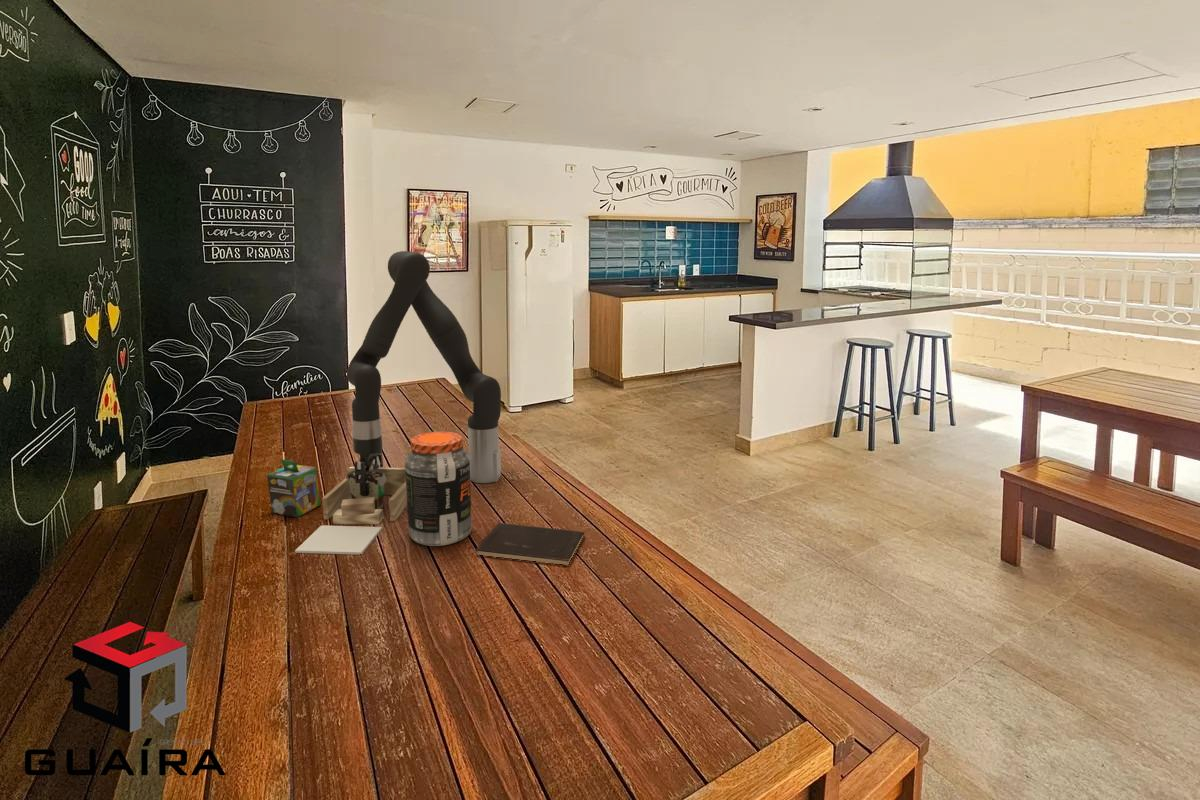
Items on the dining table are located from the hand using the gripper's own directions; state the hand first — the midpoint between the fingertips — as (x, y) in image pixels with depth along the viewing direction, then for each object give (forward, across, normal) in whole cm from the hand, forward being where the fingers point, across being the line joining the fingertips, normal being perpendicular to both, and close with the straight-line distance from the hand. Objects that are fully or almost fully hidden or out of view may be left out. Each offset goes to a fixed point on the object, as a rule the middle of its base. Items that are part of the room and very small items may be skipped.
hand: (370, 489), depth 184 cm
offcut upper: (+2, -10, 0) cm, 10 cm away
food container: (+5, 0, 0) cm, 5 cm away
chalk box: (+5, -4, +20) cm, 21 cm away
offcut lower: (+5, -10, 0) cm, 11 cm away
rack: (+5, 0, 0) cm, 5 cm away
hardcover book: (+5, -22, -48) cm, 53 cm away
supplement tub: (+5, -17, -24) cm, 30 cm away
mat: (+5, -22, 0) cm, 22 cm away
